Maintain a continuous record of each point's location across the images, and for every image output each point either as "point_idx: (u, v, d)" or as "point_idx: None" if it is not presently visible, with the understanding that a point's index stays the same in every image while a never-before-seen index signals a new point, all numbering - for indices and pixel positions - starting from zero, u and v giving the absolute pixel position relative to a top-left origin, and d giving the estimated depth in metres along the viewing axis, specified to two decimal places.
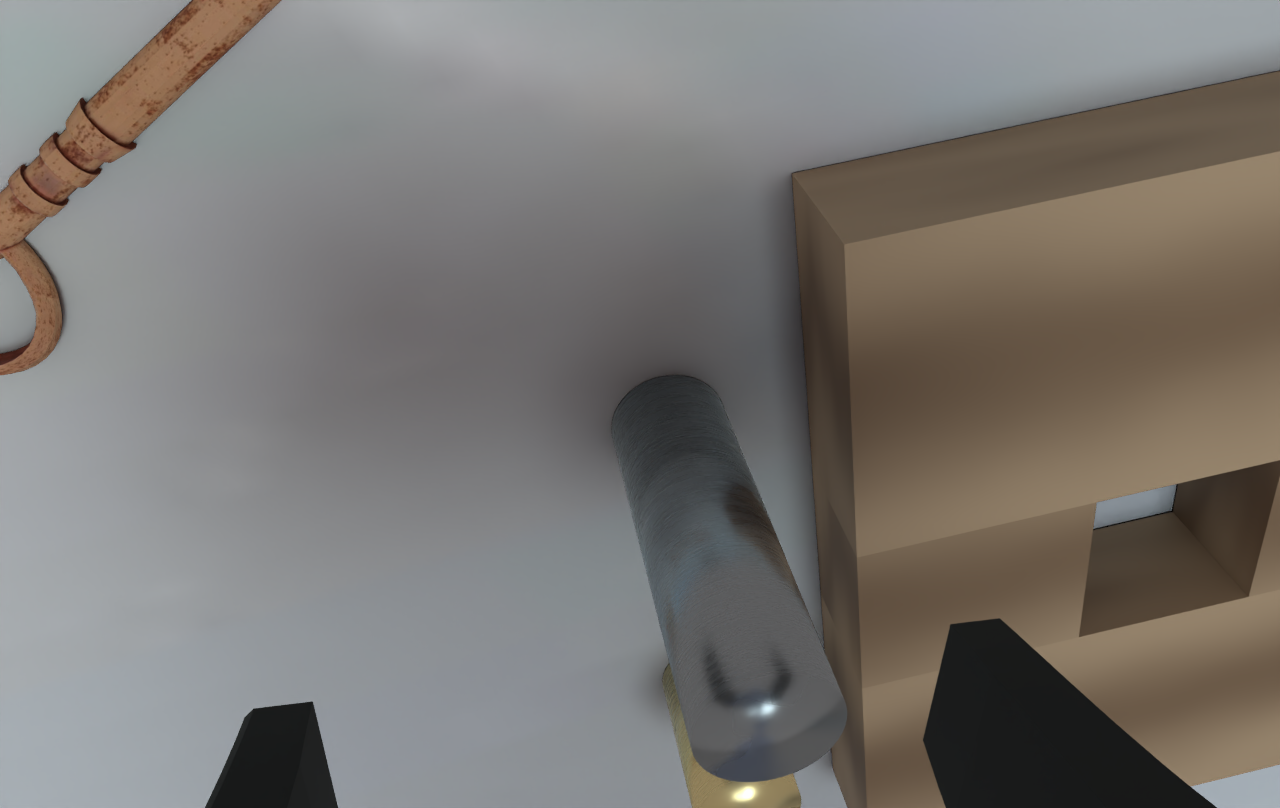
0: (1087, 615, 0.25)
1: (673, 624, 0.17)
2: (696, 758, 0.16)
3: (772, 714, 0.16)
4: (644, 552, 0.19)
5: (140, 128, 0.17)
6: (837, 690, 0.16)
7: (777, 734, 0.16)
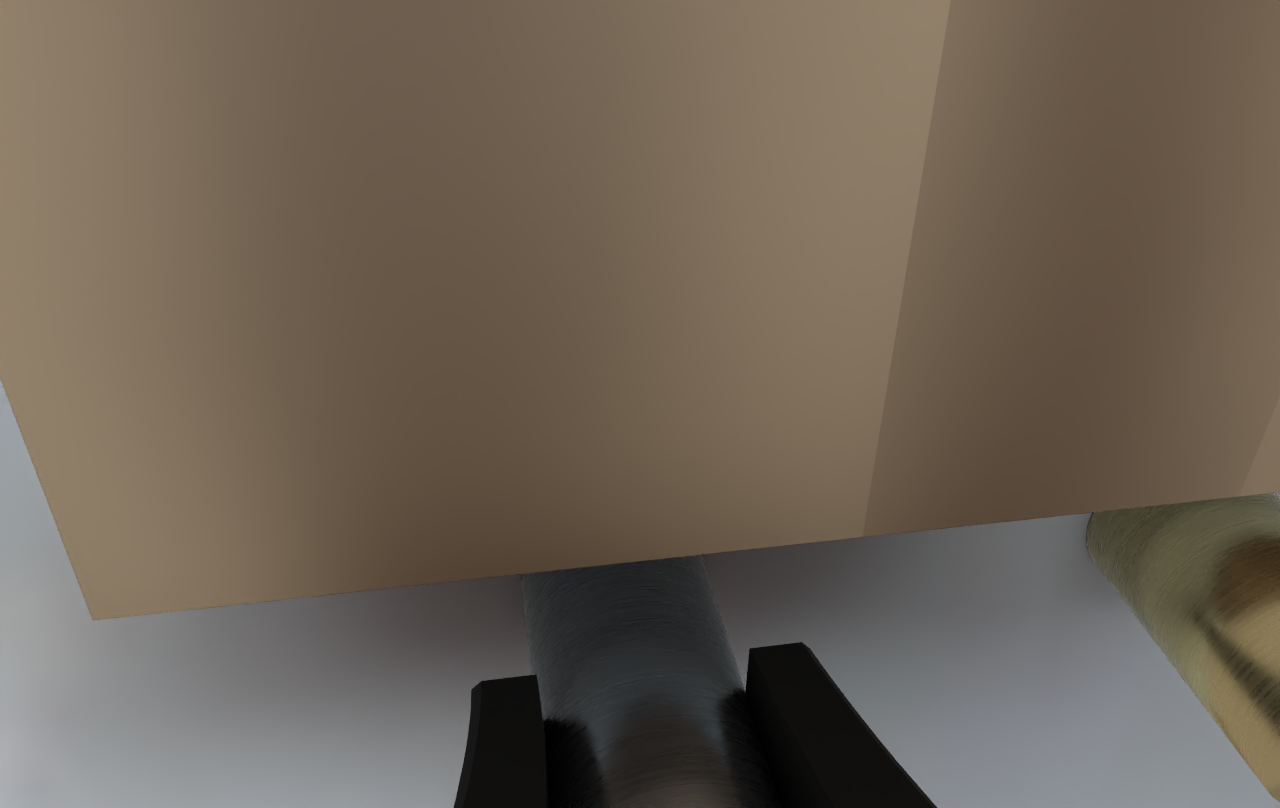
0: None
1: None
2: None
3: None
4: None
5: None
6: None
7: None
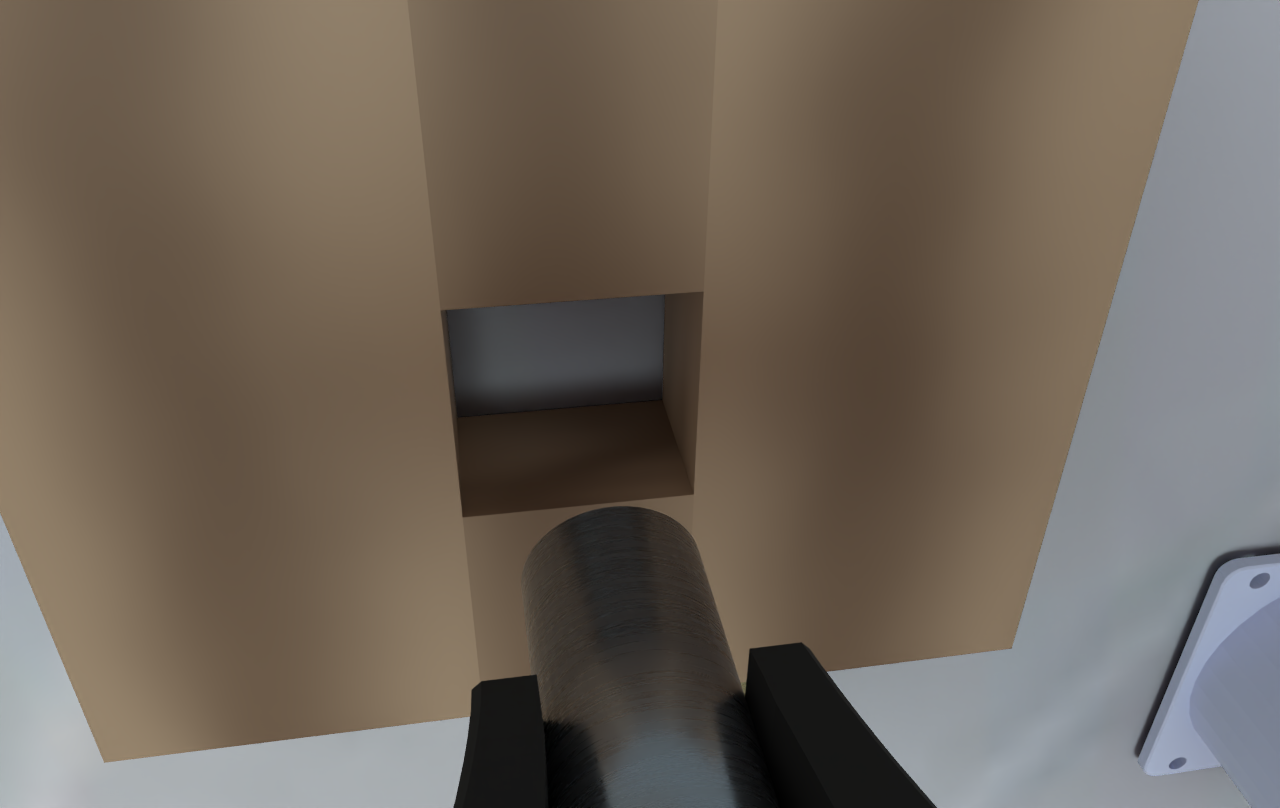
0: (688, 453, 0.19)
1: None
2: None
3: None
4: None
5: None
6: None
7: None
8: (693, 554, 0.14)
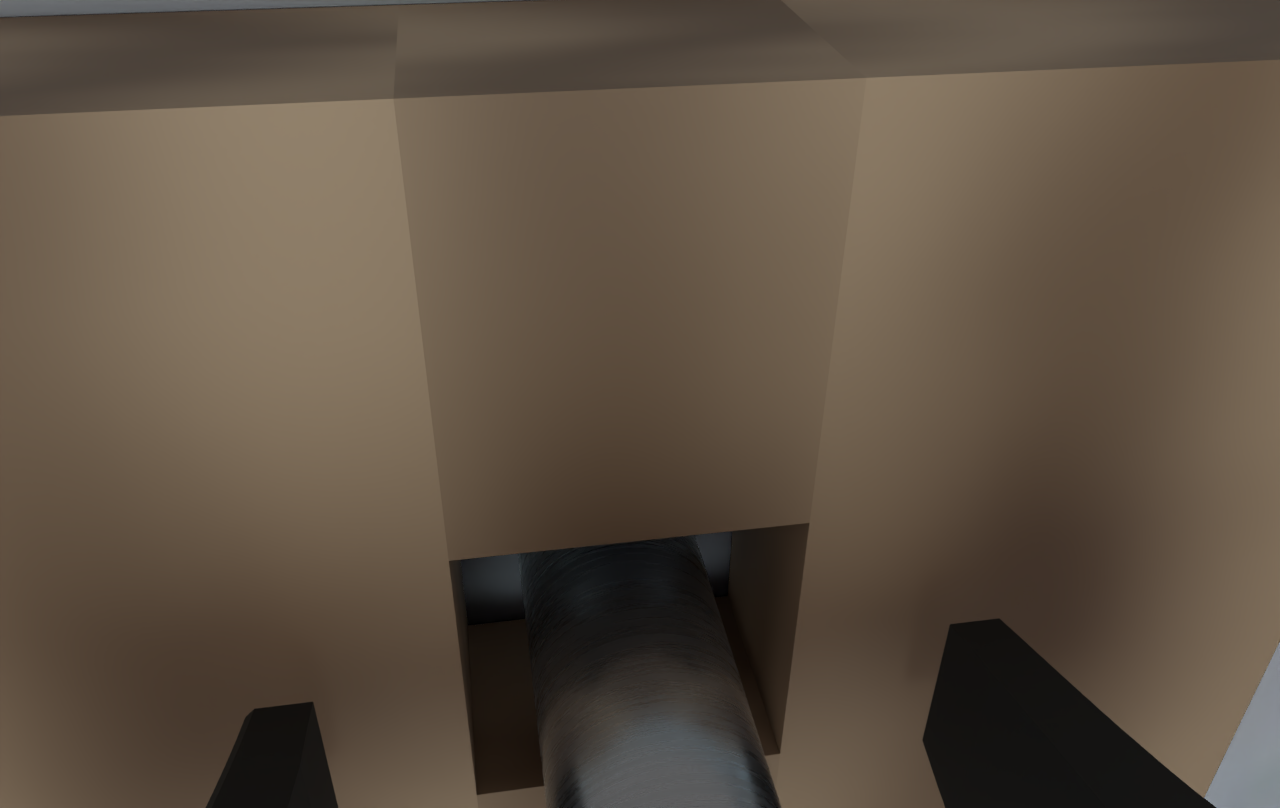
0: (772, 697, 0.15)
1: None
2: None
3: None
4: None
5: None
6: None
7: None
8: None
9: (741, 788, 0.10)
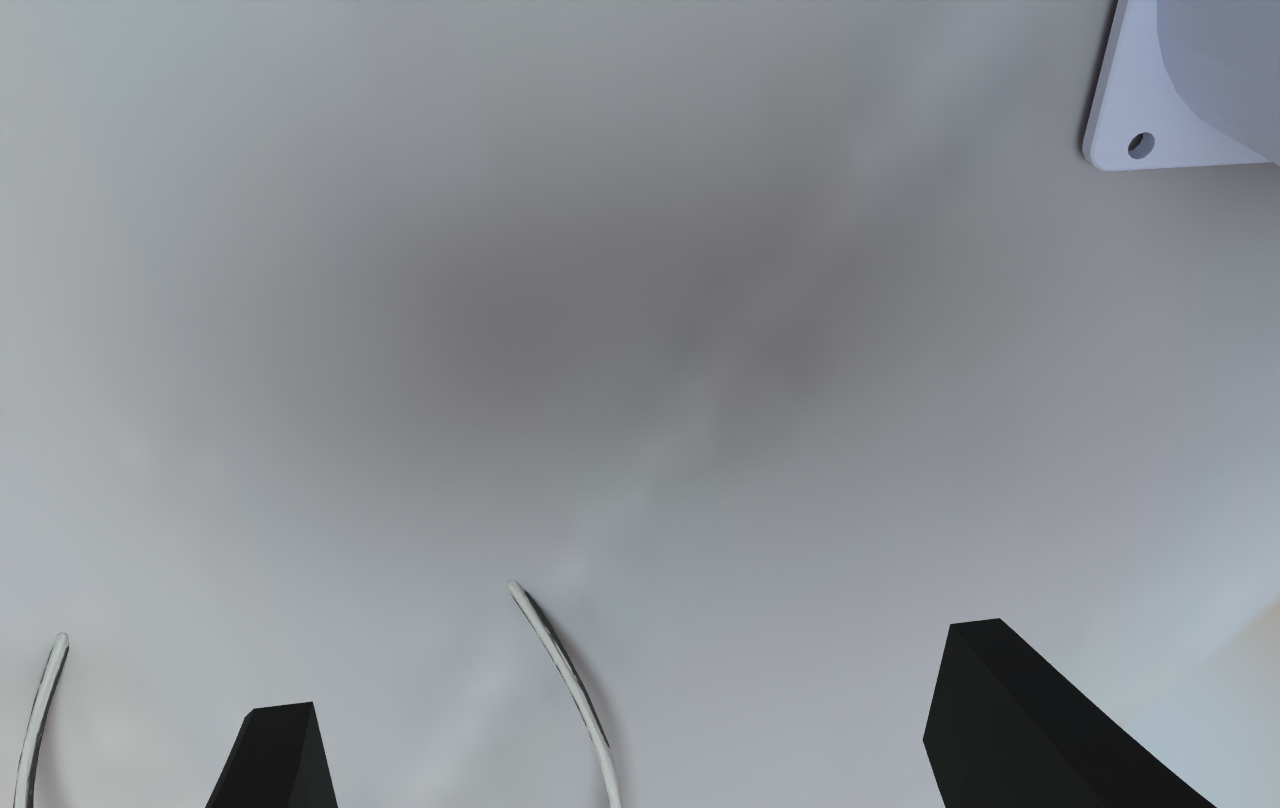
0: None
1: None
2: None
3: None
4: None
5: None
6: None
7: None
8: None
9: None
